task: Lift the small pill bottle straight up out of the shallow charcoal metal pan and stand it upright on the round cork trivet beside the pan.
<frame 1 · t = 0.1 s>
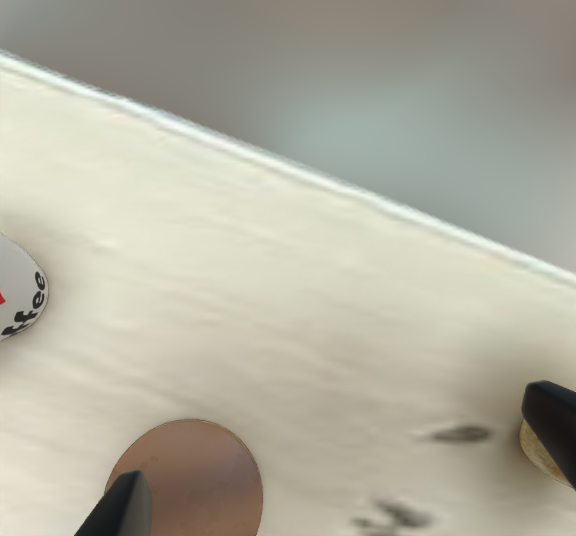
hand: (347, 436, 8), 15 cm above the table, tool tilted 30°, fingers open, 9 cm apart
decorative mushroom: (535, 432, 24), on the table
trivet: (185, 500, 21), on the table
cup: (6, 294, 22), on the table
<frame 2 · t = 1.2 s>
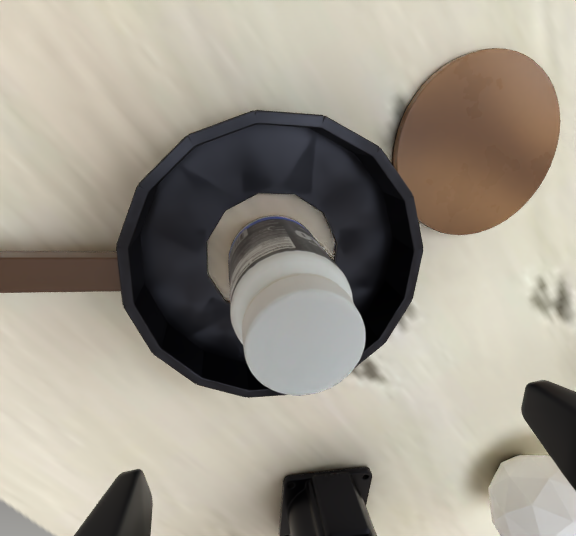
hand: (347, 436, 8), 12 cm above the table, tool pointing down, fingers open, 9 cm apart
ball: (509, 465, 30), on the table
pill bottle: (272, 255, 19), resting in pan
pan: (272, 257, 19), on the table
trivet: (473, 149, 19), on the table
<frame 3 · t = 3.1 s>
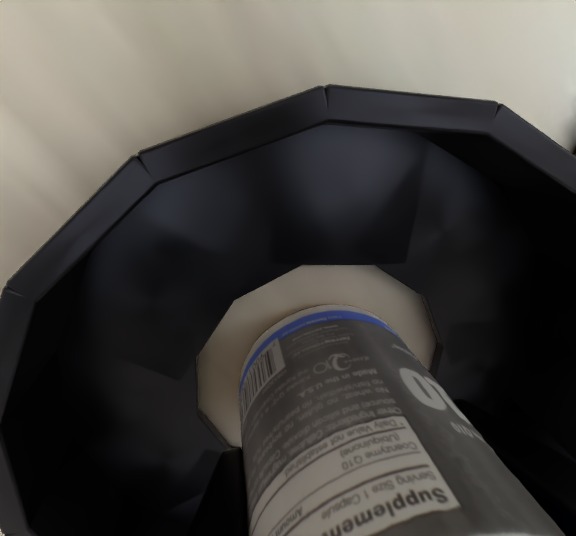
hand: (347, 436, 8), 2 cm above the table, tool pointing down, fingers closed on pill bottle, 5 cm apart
pill bottle: (319, 368, 10), resting in pan, touching gripper
pan: (321, 373, 10), on the table
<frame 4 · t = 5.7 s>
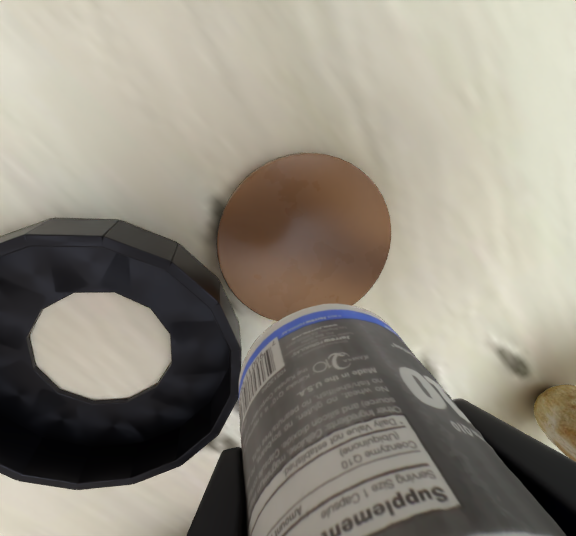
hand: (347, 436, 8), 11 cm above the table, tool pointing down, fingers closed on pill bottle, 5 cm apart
decorative mushroom: (545, 394, 27), on the table
pill bottle: (319, 368, 10), point 9 cm above the table, touching gripper
pan: (104, 348, 19), on the table
trivet: (305, 243, 19), on the table
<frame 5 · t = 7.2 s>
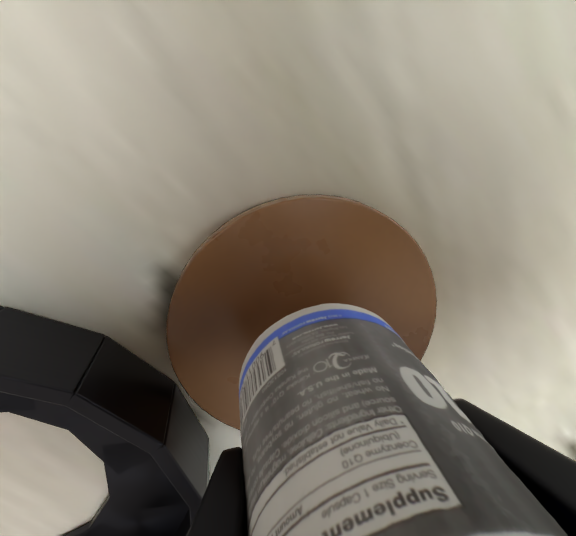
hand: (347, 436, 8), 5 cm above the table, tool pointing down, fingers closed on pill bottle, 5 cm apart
pill bottle: (319, 368, 10), point 2 cm above the table, touching gripper
pan: (4, 483, 13), on the table
trivet: (306, 326, 12), on the table
when the fingers open (3 cm above the table, at t = 8.2 s): pill bottle stays where it is, resting on trivet.
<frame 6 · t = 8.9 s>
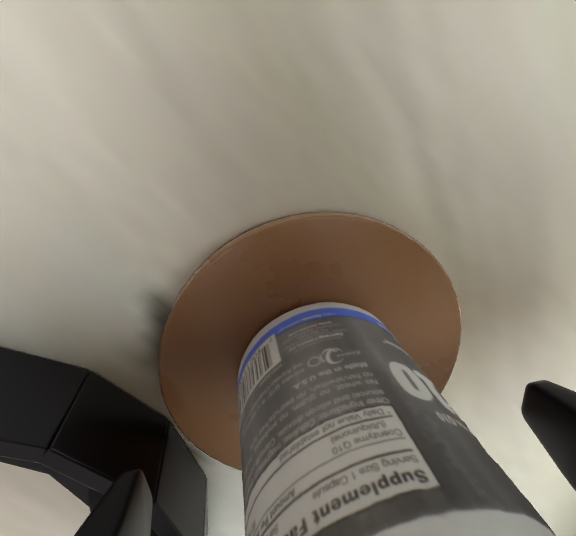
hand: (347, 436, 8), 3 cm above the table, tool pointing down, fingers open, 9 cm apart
pill bottle: (315, 364, 11), resting on trivet
trivet: (315, 356, 11), on the table
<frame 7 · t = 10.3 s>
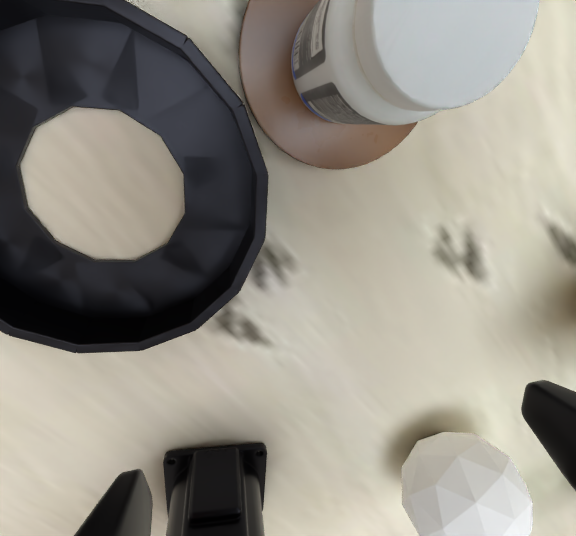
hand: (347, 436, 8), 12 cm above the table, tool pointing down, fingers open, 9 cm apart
ball: (431, 445, 27), on the table
pill bottle: (341, 64, 16), resting on trivet
pan: (107, 189, 16), on the table
trivet: (340, 63, 16), on the table
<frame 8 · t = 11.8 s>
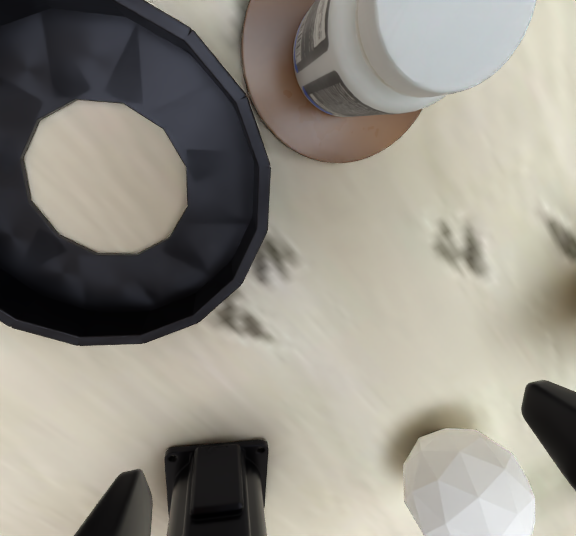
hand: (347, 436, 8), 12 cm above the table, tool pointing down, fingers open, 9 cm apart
ball: (432, 442, 27), on the table
pill bottle: (342, 58, 16), resting on trivet
pan: (110, 183, 16), on the table
trivet: (341, 58, 16), on the table
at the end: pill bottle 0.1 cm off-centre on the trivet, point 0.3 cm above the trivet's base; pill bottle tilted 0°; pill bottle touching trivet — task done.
